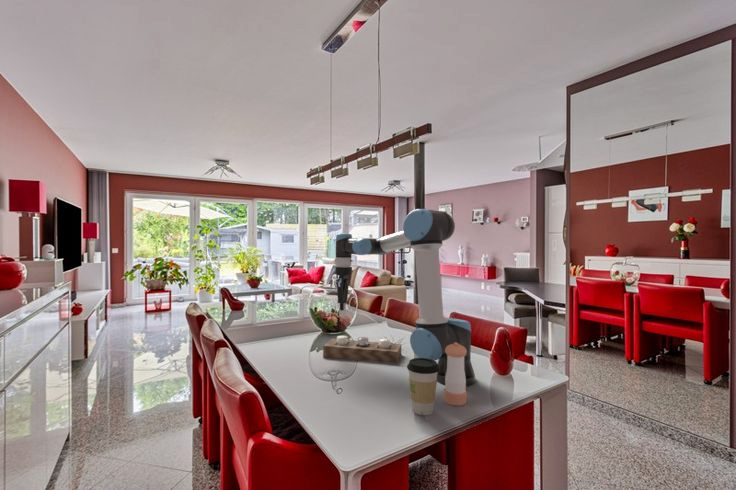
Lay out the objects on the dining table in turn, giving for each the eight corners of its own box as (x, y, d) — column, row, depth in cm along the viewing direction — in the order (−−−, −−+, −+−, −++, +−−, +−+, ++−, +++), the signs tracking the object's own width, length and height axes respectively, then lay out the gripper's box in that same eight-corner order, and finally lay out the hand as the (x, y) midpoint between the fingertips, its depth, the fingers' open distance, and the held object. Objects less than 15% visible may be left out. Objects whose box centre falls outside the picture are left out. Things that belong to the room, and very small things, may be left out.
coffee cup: (417, 400, 118) (417, 355, 118) (444, 409, 111) (444, 361, 112) (400, 411, 110) (400, 362, 110) (428, 421, 104) (429, 369, 104)
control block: (401, 354, 168) (401, 344, 168) (397, 363, 155) (397, 351, 155) (332, 349, 176) (332, 338, 176) (323, 356, 163) (323, 345, 163)
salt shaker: (467, 406, 114) (468, 346, 114) (443, 404, 115) (444, 344, 116) (465, 397, 121) (466, 340, 121) (443, 395, 123) (444, 339, 123)
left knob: (348, 346, 170) (348, 336, 170) (345, 349, 165) (345, 338, 165) (338, 345, 171) (338, 335, 171) (335, 348, 166) (335, 337, 166)
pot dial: (369, 348, 167) (369, 336, 167) (366, 351, 163) (367, 339, 163) (359, 347, 168) (359, 335, 169) (356, 350, 164) (356, 338, 164)
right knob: (390, 349, 165) (390, 339, 165) (388, 353, 160) (388, 341, 160) (379, 349, 166) (380, 338, 166) (377, 352, 161) (377, 341, 161)
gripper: (347, 267, 161) (346, 320, 161) (354, 266, 173) (353, 314, 173) (331, 267, 162) (330, 319, 162) (339, 265, 175) (338, 313, 175)
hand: (342, 316), depth 168 cm, fingers closed
